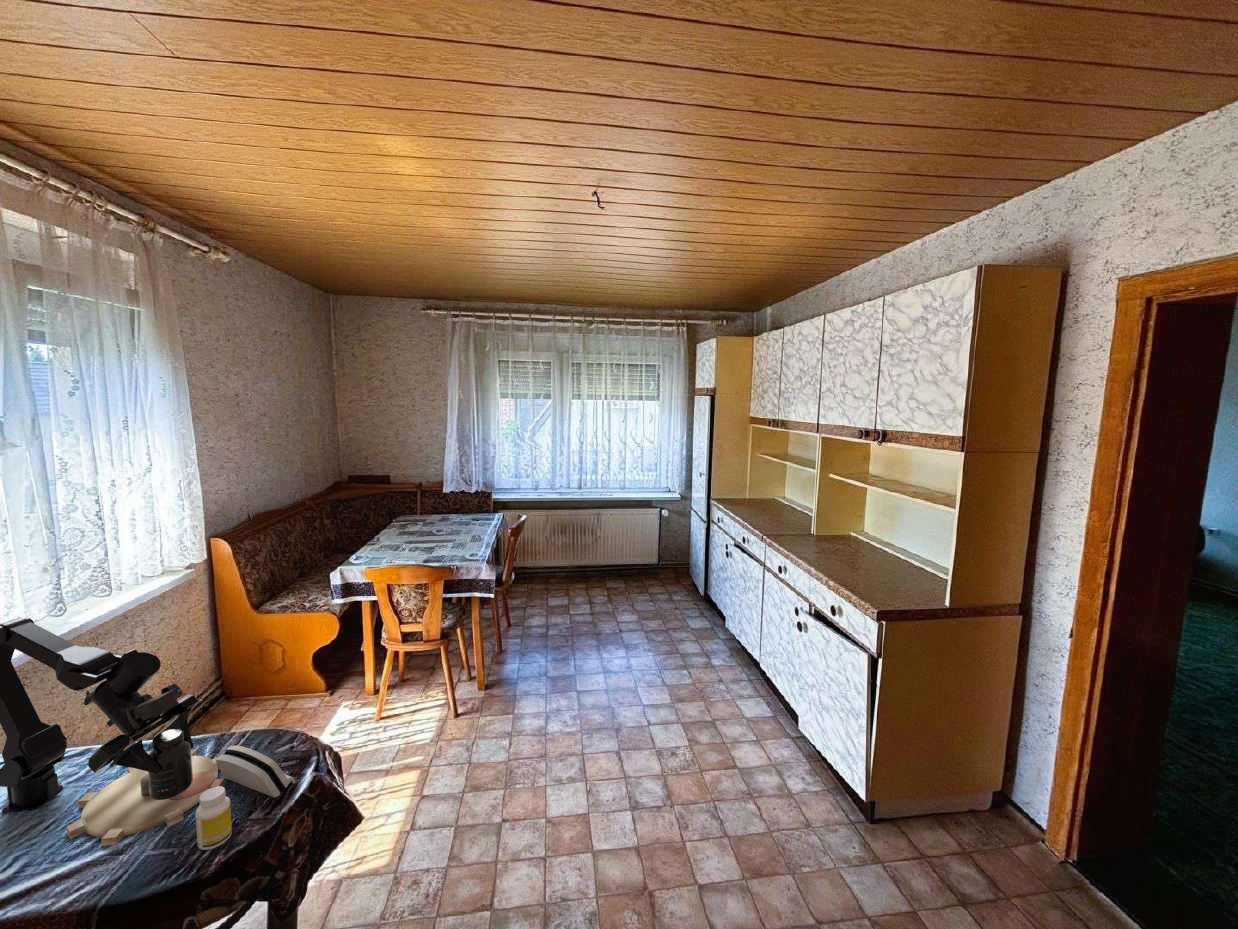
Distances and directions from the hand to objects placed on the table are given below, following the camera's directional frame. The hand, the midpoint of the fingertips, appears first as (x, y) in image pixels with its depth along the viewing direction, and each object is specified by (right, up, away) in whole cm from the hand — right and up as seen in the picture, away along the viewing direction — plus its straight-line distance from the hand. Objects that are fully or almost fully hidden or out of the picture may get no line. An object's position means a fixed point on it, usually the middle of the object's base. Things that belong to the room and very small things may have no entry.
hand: (176, 760), depth 107 cm
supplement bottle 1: (-2, -7, +1) cm, 7 cm away
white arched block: (+9, -12, +10) cm, 18 cm away
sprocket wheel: (-10, -11, +6) cm, 16 cm away
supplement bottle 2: (+12, -13, -5) cm, 18 cm away
